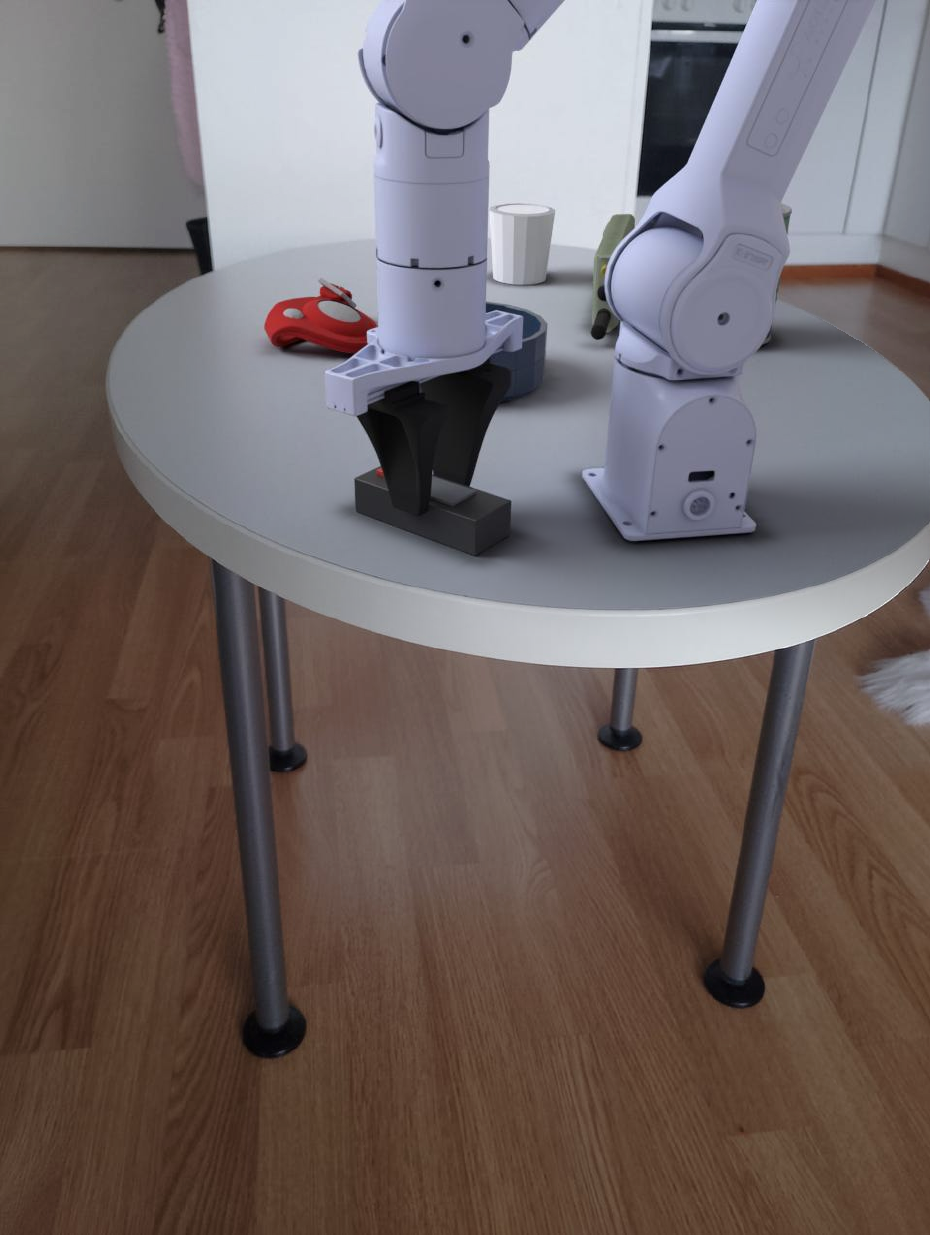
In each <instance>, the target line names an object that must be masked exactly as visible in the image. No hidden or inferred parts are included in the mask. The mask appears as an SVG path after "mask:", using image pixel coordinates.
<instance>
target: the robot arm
mask: <svg viewBox="0 0 930 1235" xmlns="http://www.w3.org/2000/svg"><path fill="white" fill-rule="evenodd" d="M565 1H566V0H382V1H380V2H379V4H378V5H377V7H376V8H375V9H374V10H373V12H372V14H371V16H370V18H369V20H368V22H367V25H366V28H365V32H366V34H365V39H364V40H363V41H362V48H360V49H358V51H357V58H358V65H359V70H360V73H361V76H362V79H363V81H364V83H365V85H366V88H367V89H368V90H369V92H370V94H371V95H372V97H373V98H374V99H375V100H376V101H377V102H376V103H375V104H374V118H375V120H374V125H373V126H374V127H373V133H374V140H375V156H374V159H373V193H374V194H373V196H374V198H373V200H374V201H373V202H374V232H375V233H374V234H375V235H374V236H375V238H374V240H375V264H376V265H375V266H376V297H377V299H376V301H377V302H376V304H377V326H378V327H376V328H373V329H370V330H368V331H367V343H368V345H366V346H365V347H364V348H363V349H361V350H360V351H359V352H357V353H354V354H353V355H352V356H351V357H349V358H348V359H347V360H346V361H344V362H342V363H340V364H338V365H336V366H335V367H332V368H330V369H326V370H325V371H324V384H325V399H326V400H325V404H326V408H327V409H329V410H333V411H336V412H339V413H342V414H345V415H349V416H352V417H356V418H357V420H358V421H359V423H360V425H361V426H362V428H363V430H364V431H365V434H366V435H367V437H368V439H369V441H370V443H371V445H372V448H373V450H374V452H375V454H376V457H377V460H378V462H379V466H381V468H382V471H383V474H384V477H385V480H386V484H387V487H388V491H389V494H390V498H391V501H392V505H393V507H394V508H397V509H399V510H402V511H405V512H408V513H410V514H413V515H416V516H421V515H423V514H425V513H426V512H427V509H428V505H429V503H430V498H431V487H432V474H433V475H436V476H439V477H442V478H445V479H448V480H451V481H454V482H457V483H460V484H463V485H466V486H469V487H471V484H472V481H473V478H474V473H475V470H476V467H477V463H478V459H479V456H480V452H481V449H482V447H483V443H484V441H485V437H486V434H487V431H488V429H489V426H490V424H491V422H492V419H493V417H494V415H495V413H496V411H497V409H498V407H499V406H500V404H501V403H502V402H501V400H502V399H503V397H504V396H505V394H506V393H507V391H508V390H509V388H510V387H511V371H510V370H509V369H508V368H505V367H502V366H498V365H494V364H491V355H492V354H494V353H497V352H499V351H502V350H504V351H507V352H514V351H517V350H519V349H521V348H522V335H523V316H520V315H516V314H511V313H507V312H502V311H498V310H495V311H492V312H489V313H486V301H487V279H488V244H489V243H488V240H489V238H488V236H489V208H490V207H489V205H490V204H489V201H490V167H491V166H490V160H489V138H490V136H489V134H490V109H491V108H494V107H496V106H497V105H499V104H500V102H501V101H502V99H503V97H504V95H505V93H506V91H507V89H508V85H509V82H510V79H511V78H510V77H511V73H512V65H513V64H512V63H513V53H514V52H520V51H522V50H523V49H524V48H525V47H526V46H527V44H529V42H530V41H531V40H532V39H533V37H534V36H535V35H536V34H537V33H538V32H539V31H540V29H541V28H543V26H544V25H545V24H546V23H547V21H548V20H549V19H550V18H551V17H552V16H553V14H554V13H555V12H556V11H557V10H558V9H559V8H560V6H562V4H563V3H564V2H565ZM876 1H877V0H756V2H755V4H754V6H753V9H752V11H751V14H750V16H749V18H748V21H747V23H746V25H745V28H744V30H743V32H742V34H741V37H740V39H739V41H738V44H737V46H736V48H735V51H734V53H733V56H732V58H731V60H730V63H729V65H728V67H727V69H726V72H725V74H724V77H723V79H722V81H721V84H720V86H719V89H718V91H717V92H716V96H715V98H714V100H713V102H712V105H711V107H710V109H709V112H708V114H707V117H706V118H705V121H704V123H703V125H702V128H701V130H700V133H699V135H698V137H697V140H696V142H695V144H694V146H693V149H692V151H691V154H690V156H689V158H688V161H687V163H686V164H685V165H684V167H682V168H681V169H680V170H679V171H678V172H677V173H676V174H675V175H674V176H672V177H671V178H669V179H668V181H666V182H665V183H664V184H663V185H662V186H660V187H659V188H658V189H657V190H656V191H655V192H654V193H653V195H652V196H651V198H650V201H649V203H648V205H647V208H646V210H645V212H644V214H643V216H642V218H641V219H640V220H639V222H638V223H637V224H636V226H635V228H634V229H633V230H632V231H631V232H630V233H629V234H628V235H627V236H626V237H625V238H624V239H623V240H622V241H621V242H620V243H619V245H618V246H617V247H616V248H615V250H614V252H613V254H612V255H611V258H610V260H609V262H608V265H607V269H606V273H605V282H604V284H605V294H606V299H607V302H608V304H609V307H610V309H611V310H612V312H613V313H614V315H615V316H616V317H617V318H618V319H619V323H620V324H619V333H618V334H619V336H618V337H617V340H616V343H615V347H614V348H615V349H614V360H613V372H612V381H611V393H610V403H609V404H610V405H609V413H608V424H607V437H606V447H605V456H604V457H605V458H604V467H596V468H593V467H592V468H585V469H583V470H582V474H581V477H582V479H583V480H584V482H585V483H586V485H587V486H588V488H589V489H590V490H591V492H592V493H593V495H594V496H595V498H596V499H597V501H598V503H600V505H601V506H602V508H603V510H604V511H605V512H606V514H607V515H608V518H610V519H611V521H612V523H613V524H614V525H615V527H616V528H617V530H618V531H619V533H620V534H621V536H622V537H623V538H624V539H625V541H630V542H640V541H653V540H669V539H681V538H694V537H707V536H721V535H736V534H747V533H749V534H750V533H754V532H755V531H756V528H757V523H756V522H755V521H754V520H753V519H752V518H751V517H750V516H749V514H747V512H746V510H745V508H746V503H747V496H748V491H749V485H750V480H751V475H752V474H751V473H752V468H753V461H754V456H755V451H756V445H757V436H758V434H757V433H758V432H757V426H756V420H755V418H754V416H753V413H752V412H751V410H750V408H749V407H748V405H747V404H746V403H745V401H744V398H743V396H742V394H741V393H742V392H741V385H740V378H741V376H742V375H743V372H744V371H743V370H744V367H745V366H744V365H745V363H746V362H747V361H749V359H750V358H751V357H753V356H754V355H755V354H756V352H757V351H758V350H759V349H760V348H761V347H762V343H763V342H764V340H765V338H766V336H767V334H768V332H769V330H770V328H771V325H772V326H773V323H772V322H774V319H775V313H776V305H775V298H776V288H777V283H778V279H779V276H780V277H781V275H782V272H783V269H784V266H785V265H786V263H787V260H788V259H789V256H790V253H791V247H790V241H789V237H788V236H789V235H788V234H787V232H786V228H785V223H784V219H783V215H782V209H781V204H782V201H783V198H784V197H785V195H786V193H787V190H788V188H789V186H790V184H791V182H792V180H793V178H794V176H795V173H796V171H797V169H798V167H799V165H800V163H801V160H802V159H803V156H804V154H805V152H806V150H807V148H808V146H809V144H810V142H811V139H812V137H813V135H814V133H815V131H816V129H817V127H818V124H819V122H820V120H821V118H822V116H823V114H824V111H826V108H827V105H828V103H829V102H830V99H831V97H832V94H833V93H834V92H835V88H836V86H837V85H838V82H839V80H840V78H841V75H842V74H843V71H844V69H845V67H846V65H847V63H848V61H849V59H850V56H851V55H852V53H853V51H854V48H855V46H856V44H857V42H858V39H859V38H860V35H861V33H862V31H863V29H864V27H865V25H866V22H867V20H868V19H869V16H870V14H871V12H872V10H873V8H874V5H875V3H876ZM780 274H781V275H780ZM773 318H774V319H773ZM419 384H420V386H421V390H422V392H421V393H420V390H419Z"/></svg>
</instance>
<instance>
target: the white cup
mask: <svg viewBox="0 0 930 1235" xmlns="http://www.w3.org/2000/svg"><path fill="white" fill-rule="evenodd" d="M488 213H489V227H490V243H491V244H490V245H491V262H492V276H493V277H492V278H493V280H495V281H496V282H500V283H503V284H507V285H515V286H516V285H517V286H518V285H520V286H527V285H536V284H541V283H543V282H546V279H547V273H548V272H547V271H548V264H549V259H550V258H549V257H550V252H551V244H552V237H553V231H554V230H553V229H554V224H555V217H556V209H555V208H553V207H550V206H546V205H542V204H536V203H535V204H534V203H503V204H497V205H494V206H490V207H489V209H488Z"/></svg>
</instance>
